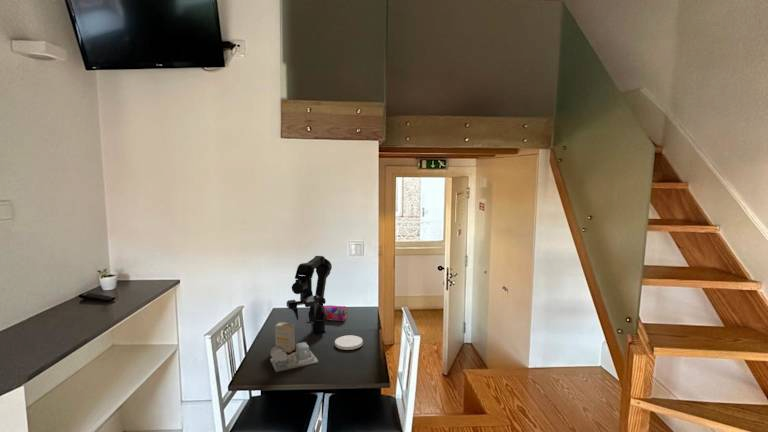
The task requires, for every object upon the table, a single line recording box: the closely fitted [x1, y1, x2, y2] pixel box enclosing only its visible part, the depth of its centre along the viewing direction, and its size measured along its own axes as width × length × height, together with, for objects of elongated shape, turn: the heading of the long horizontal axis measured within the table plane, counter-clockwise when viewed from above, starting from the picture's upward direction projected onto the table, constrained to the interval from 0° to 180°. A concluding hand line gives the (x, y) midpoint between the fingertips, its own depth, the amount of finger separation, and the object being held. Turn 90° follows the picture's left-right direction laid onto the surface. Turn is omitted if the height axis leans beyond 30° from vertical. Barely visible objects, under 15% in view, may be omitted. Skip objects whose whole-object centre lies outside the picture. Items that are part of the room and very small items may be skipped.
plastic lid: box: [334, 334, 364, 351], centre depth 193 cm, size 14×14×2 cm
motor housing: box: [269, 345, 319, 373], centre depth 175 cm, size 19×12×7 cm, turn 118°
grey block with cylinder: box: [295, 341, 310, 360], centre depth 176 cm, size 4×8×6 cm, turn 28°
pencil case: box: [323, 304, 348, 322], centre depth 229 cm, size 22×9×9 cm, turn 78°
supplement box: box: [274, 321, 296, 354], centre depth 187 cm, size 8×5×13 cm, turn 71°
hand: (306, 318), depth 194 cm, fingers open, 9 cm apart
